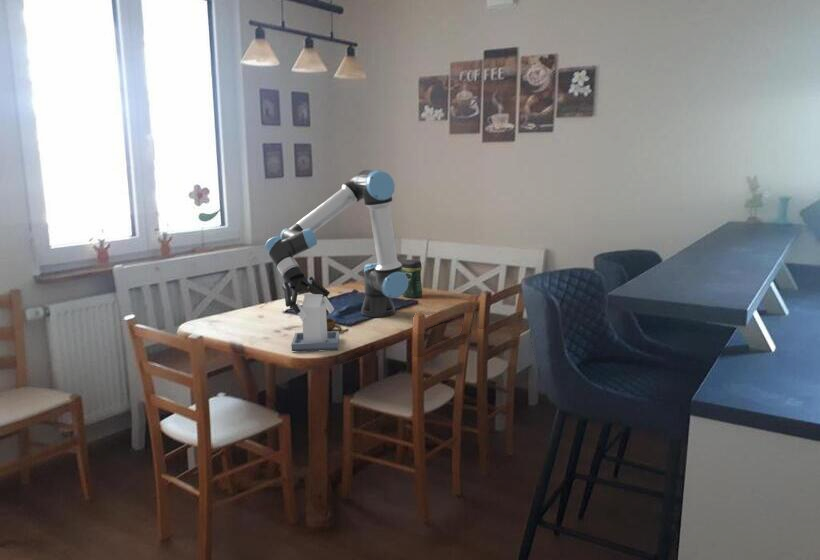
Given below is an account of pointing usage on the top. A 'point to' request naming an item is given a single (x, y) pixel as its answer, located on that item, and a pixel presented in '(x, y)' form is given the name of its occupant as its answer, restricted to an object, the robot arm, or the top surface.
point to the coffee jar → (412, 278)
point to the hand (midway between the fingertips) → (318, 315)
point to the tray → (328, 345)
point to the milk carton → (314, 319)
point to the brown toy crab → (333, 324)
